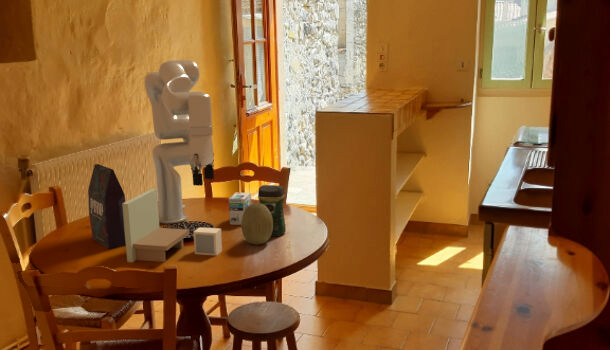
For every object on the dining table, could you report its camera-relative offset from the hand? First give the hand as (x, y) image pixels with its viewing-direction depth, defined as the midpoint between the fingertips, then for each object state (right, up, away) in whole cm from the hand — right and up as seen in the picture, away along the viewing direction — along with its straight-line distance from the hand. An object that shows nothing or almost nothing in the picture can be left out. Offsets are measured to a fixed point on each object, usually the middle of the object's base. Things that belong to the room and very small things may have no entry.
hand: (203, 182), depth 201 cm
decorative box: (-37, -22, +18) cm, 47 cm away
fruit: (+17, -22, +14) cm, 31 cm away
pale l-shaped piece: (-16, -25, +5) cm, 30 cm away
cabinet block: (+1, -24, +5) cm, 25 cm away
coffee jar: (+22, -20, +25) cm, 38 cm away
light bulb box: (+8, -17, +41) cm, 45 cm away
